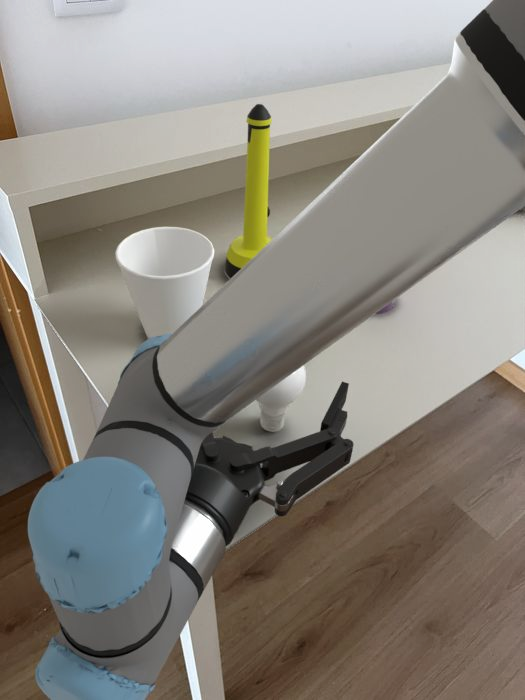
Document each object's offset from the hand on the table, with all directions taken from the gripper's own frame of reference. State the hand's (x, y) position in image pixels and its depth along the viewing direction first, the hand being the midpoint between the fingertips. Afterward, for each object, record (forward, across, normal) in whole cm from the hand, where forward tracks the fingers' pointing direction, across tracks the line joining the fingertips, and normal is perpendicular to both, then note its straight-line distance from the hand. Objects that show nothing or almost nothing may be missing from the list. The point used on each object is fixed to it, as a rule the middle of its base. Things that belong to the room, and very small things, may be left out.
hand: (285, 371), depth 64 cm
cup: (+7, -19, -6) cm, 21 cm away
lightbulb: (-3, 0, -6) cm, 7 cm away
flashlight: (+25, -15, -6) cm, 30 cm away
